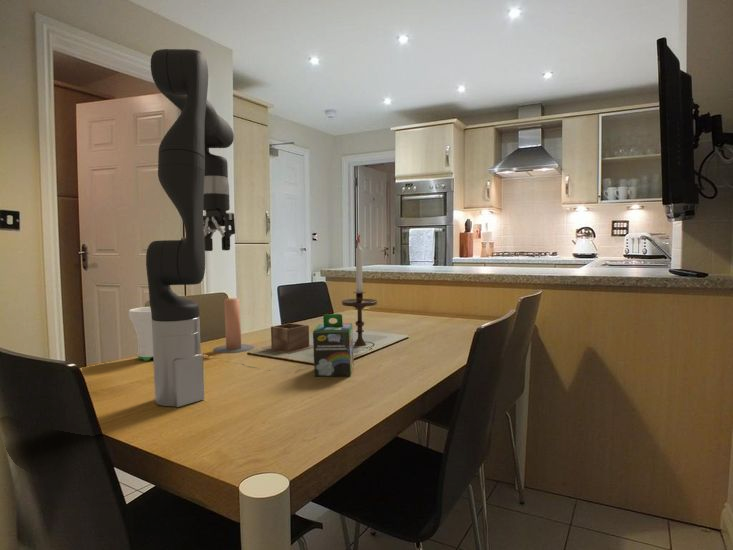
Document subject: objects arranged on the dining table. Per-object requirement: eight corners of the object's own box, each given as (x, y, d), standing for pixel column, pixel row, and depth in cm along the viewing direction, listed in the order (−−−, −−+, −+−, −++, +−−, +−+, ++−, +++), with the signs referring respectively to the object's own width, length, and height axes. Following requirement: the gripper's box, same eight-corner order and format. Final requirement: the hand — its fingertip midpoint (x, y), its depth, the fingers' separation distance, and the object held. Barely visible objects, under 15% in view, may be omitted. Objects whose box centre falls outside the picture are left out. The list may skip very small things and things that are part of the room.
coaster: (262, 349, 144) (262, 347, 144) (229, 357, 135) (229, 355, 135) (238, 345, 152) (238, 342, 152) (204, 352, 142) (204, 349, 142)
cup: (160, 351, 144) (158, 305, 143) (181, 356, 137) (179, 307, 136) (123, 359, 135) (120, 309, 134) (144, 365, 128) (141, 312, 127)
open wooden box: (318, 348, 145) (318, 325, 144) (289, 356, 136) (288, 331, 135) (291, 343, 152) (291, 321, 152) (262, 350, 143) (261, 327, 142)
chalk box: (354, 366, 124) (353, 310, 123) (351, 377, 115) (350, 316, 114) (318, 366, 124) (317, 310, 123) (313, 377, 115) (311, 316, 114)
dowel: (244, 348, 144) (242, 298, 143) (232, 350, 140) (230, 300, 139) (235, 346, 146) (233, 297, 145) (223, 348, 143) (221, 299, 142)
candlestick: (378, 351, 141) (376, 232, 138) (341, 351, 141) (339, 233, 139) (377, 343, 152) (376, 233, 149) (343, 343, 152) (341, 233, 149)
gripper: (241, 192, 134) (243, 250, 134) (212, 197, 143) (214, 251, 143) (218, 190, 128) (220, 250, 128) (189, 194, 137) (191, 251, 137)
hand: (217, 250), depth 136 cm, fingers open, 8 cm apart
